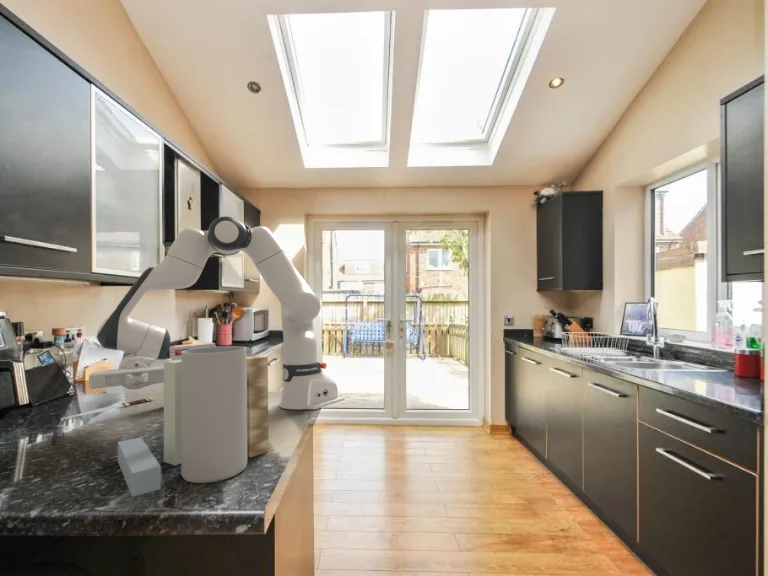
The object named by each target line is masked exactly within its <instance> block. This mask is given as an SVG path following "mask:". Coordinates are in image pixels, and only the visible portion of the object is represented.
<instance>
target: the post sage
mask: <svg viewBox="0 0 768 576" xmlns="http://www.w3.org/2000/svg"><path fill="white" fill-rule="evenodd" d="M163 462H164V463H166V464H170V465H172V466H179V465H181V359H179V360H172V361H164V382H163Z"/></svg>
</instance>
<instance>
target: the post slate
mask: <svg viewBox="0 0 768 576" xmlns="http://www.w3.org/2000/svg"><path fill="white" fill-rule="evenodd" d="M117 463H118V466H119V467H120V470H121V472H122V475H123V477H124V480H125V482H126V485H127V488H128V490H129V493H130V492H131V493H130V495H131V497H132V498H134V497H137V495H138V496H140V494H141V495H144V493H145V494H148V493H151V491H152V492H155V491H158V490H161V489H162V488H161V487H162V486H161V481H162V477H161V475H162V474H161V473H162V471H161V469H162V467H161V465H160V463H159V461H158V460H157V458H156V457H155V455H154V453H153V452H152V451H151V450H150V448H149V447H148V445H147V444H146V442H145V441H144V439H143V437H137V438H132V439H131V438H130V439H127V440H121V441H118V442H117ZM133 496H134V497H133Z"/></svg>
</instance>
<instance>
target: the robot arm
mask: <svg viewBox="0 0 768 576" xmlns="http://www.w3.org/2000/svg"><path fill="white" fill-rule="evenodd" d="M250 227H251V226H248V225H247V224H245V223H243V222H241V221H240V220H239V219H236V218H234V217H231V216H220V217H218V218H216V219H214V220H213V221H212V222H211V223H210V224H209V227H208V229H207V230H201V229H199V228H196V227H187V228H184V229H182V230H181V231H180V232H179V234H178V235H177V236H176V237H175V240H174V241H173V242H172V244H171V245H170V247H169V249H168V251H167V253H166V255H165V257H164V258H163V259H162V260H161V262H160V263H159V264H158V265H156V266H150V267H148V268H146V269H145V270H144V271H143V272H142V273H141V275H140V276H139V277H138V278H137V280H136V281H135V282H134V283H133V284H132V285H131V287H130V288H129V289H128V291H127V292H126V294H125V295H124V297H123V298H122V299H121V300H120V302H119V303H118V305H117V307H116V308H115V310H114V311H113V312H111V313H110V314H109V316H108V317H107V318H105V320H103V322H102V323H101V324H100V325H99V327H98V330H97V331H96V337H95V338H96V340H97V341H98V343H99V344H100V346H101V347H102V348H103V349H109V350H112V351H113V350H114V351H121V352H125V353H129V354H128V355H127V356H126V357H123V359H122V360H121V361H120V363H119V365H118V368H115V369H113V368H112V369H102V370H97V371H94V372H91V373H89V375H88V389H93V390H94V389H102V388H111V387H112V388H113V387H121V386H122V387H124V388H125V389H128V390H139V389H143V388H145V387H149V386H152V385H156V384H162V383H163V384H164V361H172V360H171V359H170V358H166V356H167V354H168V352H169V350H170V346H171V336H170V333H169V330H168V329H167V328H164V327H162V326H158V325H155V324H152V323H149V322H148V323H147V322H143V321H142V320H138V319H133V318H132V317H130V315H131V313H132V312H133V310H134V309H135V308H136V307H137V305H138V303H139V302H140V301H141V299H143V297H144V296H145V295H146V294H147V293H148V292H150V291H155V290H182V289H183V290H184V289H186V288H190V287H192V286H193V285H195V284H196V283H197V281H198V279H200V276H201V274H202V272H203V270H204V269H205V265H206V264H207V261H208V259H209V258H210V256H212V255H216V256H217V255H219V256H234V255H236V254H238V253H239V252H244V253H245V254H247V256H248V257H250V259H251V261H252V262H253V264H254V266H255V268H256V270H257V271H258V272H259V274H260V276H261V277H262V279H263V281H264V283H265V284H266V286H267V287H268V288H269V289H270V291H271V292H272V294H274V295H275V298H276V299H277V300H278V301H279V302H280V314H281V315H280V316H281V325H282V326H281V327H282V337H283V363H282V379H283V383H282V393H281V399H280V401H279V407H280V408H281V409H285V410H317V409H321V408H324V407H328V406H331V405H334V404H338V403H340V402H343V401H346V400H345V396H344V395H342V394H339V390H338V385H337V383H336V382H335V380H333V379H332V378H330V377H329V376H327V375H326V374H325V373H324V372H322V369H324V370H325V369H327V367H328V364H327V362H318V359H317V358H318V355H317V354H318V353H317V352H318V350H317V337H316V336H317V335H316V332H315V326H314V319H316V318H317V317H318V316H319V314H320V311H321V301H320V299H319V297H318V296H317V294H316V293H314V291H313V290H312V288H311V286H309V284H308V282H307V281H306V280H305V279H304V278H303V276H302V275H301V274H300V273H299V271H298V269H297V268H296V267H295V264H294V262H292V260H291V258H290V256H289V254H288V253H287V252H286V250H285V247H283V245H282V244H281V241H279V240H278V238H277V237H276V235H275V234H274V233H273V232H272V230H270V229H269V228H268V227H267V226H264V225H263V226H262V225H259V226H255V227H253V228H252V227H251V228H250Z"/></svg>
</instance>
